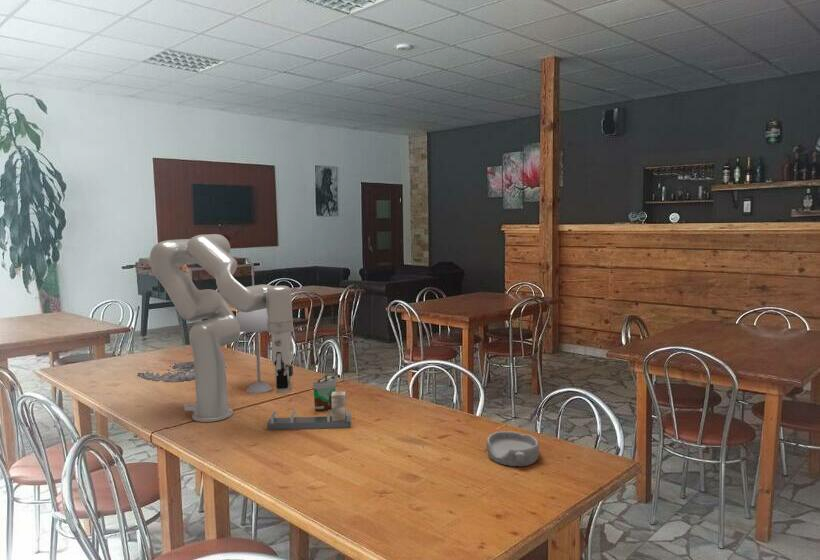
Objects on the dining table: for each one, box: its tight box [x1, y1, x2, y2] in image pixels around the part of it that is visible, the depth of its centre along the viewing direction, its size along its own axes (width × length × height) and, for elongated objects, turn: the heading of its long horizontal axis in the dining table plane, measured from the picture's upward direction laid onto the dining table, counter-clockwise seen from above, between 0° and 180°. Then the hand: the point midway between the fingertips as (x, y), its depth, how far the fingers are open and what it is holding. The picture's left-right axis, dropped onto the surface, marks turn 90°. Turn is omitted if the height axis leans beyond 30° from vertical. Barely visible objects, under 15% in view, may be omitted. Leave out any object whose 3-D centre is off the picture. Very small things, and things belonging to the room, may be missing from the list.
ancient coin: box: [137, 361, 195, 383], centre depth 253 cm, size 33×35×1 cm
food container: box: [312, 373, 338, 412], centre depth 201 cm, size 12×6×10 cm, turn 168°
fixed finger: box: [329, 390, 347, 421], centre depth 183 cm, size 5×4×8 cm
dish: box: [486, 430, 540, 467], centre depth 158 cm, size 14×14×5 cm
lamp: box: [235, 308, 273, 394], centre depth 222 cm, size 17×17×33 cm
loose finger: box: [274, 364, 294, 395], centre depth 181 cm, size 4×5×8 cm
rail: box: [266, 409, 352, 431], centre depth 183 cm, size 25×5×4 cm, turn 92°
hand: (283, 385), depth 182 cm, fingers closed on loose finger, 4 cm apart
